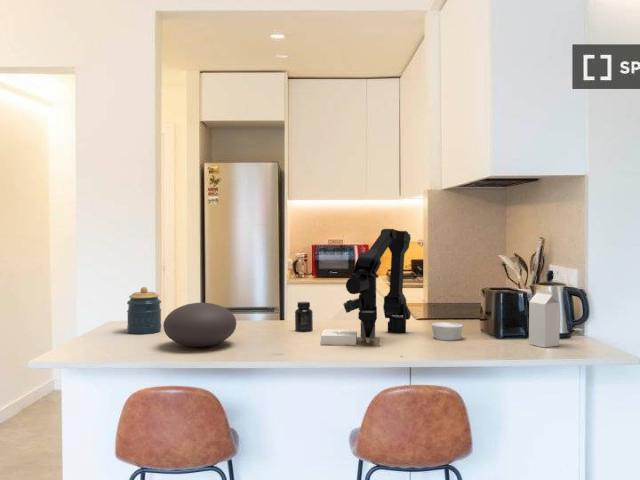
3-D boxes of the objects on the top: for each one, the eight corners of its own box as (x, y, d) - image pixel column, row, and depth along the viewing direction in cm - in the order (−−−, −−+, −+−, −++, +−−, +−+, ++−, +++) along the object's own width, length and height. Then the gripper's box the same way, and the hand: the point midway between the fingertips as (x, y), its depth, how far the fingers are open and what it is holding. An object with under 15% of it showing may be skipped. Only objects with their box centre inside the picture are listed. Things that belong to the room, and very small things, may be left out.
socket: (357, 338, 217) (357, 329, 217) (355, 344, 205) (355, 336, 205) (323, 337, 218) (323, 329, 218) (320, 344, 206) (320, 335, 206)
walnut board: (379, 340, 218) (379, 337, 218) (379, 349, 202) (379, 346, 202) (324, 339, 220) (324, 336, 220) (320, 348, 204) (320, 345, 204)
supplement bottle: (315, 332, 234) (315, 301, 234) (308, 335, 228) (307, 303, 228) (299, 331, 237) (299, 300, 237) (291, 333, 231) (291, 302, 231)
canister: (120, 333, 233) (119, 287, 233) (141, 328, 245) (141, 284, 245) (147, 335, 228) (147, 289, 228) (168, 330, 240) (167, 286, 240)
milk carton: (544, 348, 204) (545, 292, 204) (528, 344, 210) (529, 290, 210) (559, 346, 207) (559, 291, 207) (543, 342, 214) (543, 289, 213)
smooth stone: (158, 342, 215) (158, 300, 215) (226, 336, 225) (226, 297, 225) (169, 356, 193) (169, 309, 192) (245, 349, 203) (245, 305, 202)
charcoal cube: (375, 340, 213) (375, 321, 213) (375, 343, 208) (375, 323, 208) (360, 340, 213) (360, 321, 213) (360, 342, 208) (360, 323, 208)
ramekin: (468, 338, 222) (468, 324, 222) (452, 342, 214) (452, 328, 214) (442, 334, 230) (442, 320, 230) (425, 338, 222) (425, 324, 221)
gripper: (346, 288, 220) (346, 330, 221) (343, 294, 202) (343, 340, 202) (376, 288, 219) (376, 331, 220) (376, 294, 201) (376, 341, 201)
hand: (367, 335), depth 211 cm, fingers closed on charcoal cube, 5 cm apart
